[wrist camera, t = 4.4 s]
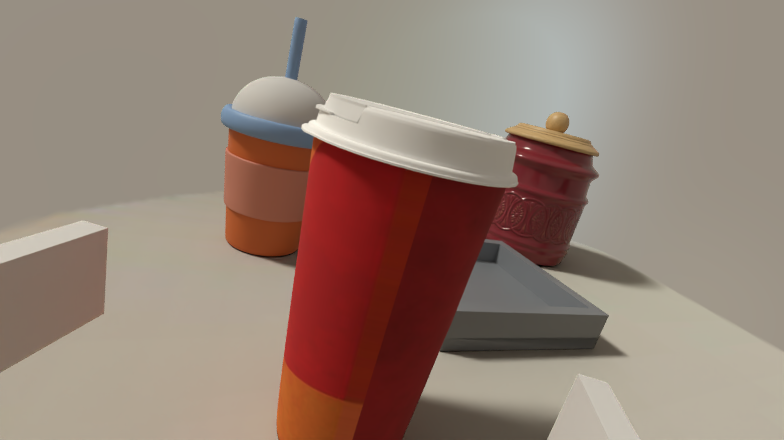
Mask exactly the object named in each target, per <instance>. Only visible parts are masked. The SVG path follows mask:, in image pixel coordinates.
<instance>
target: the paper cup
mask: <svg viewBox="0 0 784 440" xmlns="http://www.w3.org/2000/svg"><path fill="white" fill-rule="evenodd" d="M316 108H317V109H319V110H320V111H319V114H318V117H317V120H311V121H309V123H304V124H302V127H301V129H302V130H303V131H304V132H306V133H308V134H310V135H312V136H314V137H313V145H312V152H311V159H310V167H309V174H308V181H307V189H306V196H305V203H304V211H303V218H302V225H301V233H300V240H299V247H298V255H297V262H296V269H295V277H294V284H293V291H292V299H291V306H290V314H289V321H288V329H287V336H286V344H285V352H284V359H283V367H282V375H281V383H280V392H279V401H278V410H277V434H278V439H279V440H402V438H403V436H404V434H405V431H406V429H407V427H408V425H409V422H410V420H411V418H412V415H413V413H414V411H415V408H416V406H417V404H418V401H419V399H420V396H421V394H422V392H423V389H424V387H425V384H426V382H427V380H428V377H429V375H430V372H431V370H432V368H433V365H434V363H435V360H436V358H437V356H438V353H439V351H440V348H441V346H442V344H443V341H444V339H445V337H446V335H447V332H448V330H449V328H450V326H451V323H452V321H453V318H454V316H455V313H456V311H457V308H458V305H459V303H460V300H461V298H462V295H463V293H464V290H465V288H466V285H467V283H468V280H469V278H470V275H471V273H472V270H473V268H474V265H475V263H476V261H477V258H478V256H479V253H480V251H481V248H482V246H483V244H484V241H485V239H486V236H487V234H488V231H489V229H490V227H491V224H492V222H493V219H494V217H495V214H496V212H497V209H498V207H499V205H500V202H501V200H502V197H503V195H504V192H505V190H506V188H511V187H516V186H517V185H518V178H517V175H516V174H514V173H513V172H512V170H513V165H514V160H515V155H516V145H515V142H512V141H508V140H507V139H506V138H503V137H501V136H498V135H495V134H489V133H486V132H482V131H479V130H476V129H472V128H469V127H465V126H461V125H458V124H454V123H451V122H447V121H443V120H440V119H436V118H432V117H429V116H425V115H421V114H417V113H414V112H410V111H406V110H402V109H398V108H394V107H391V106H386V105H383V104H379V103H374V102H370V101H367V100H363V99H359V98H354V97H350V96H345V95H341V94H336V93H330V96H329V98H328V100H327V102H326V103H325V105H322V104H317V105H316Z"/></svg>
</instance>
